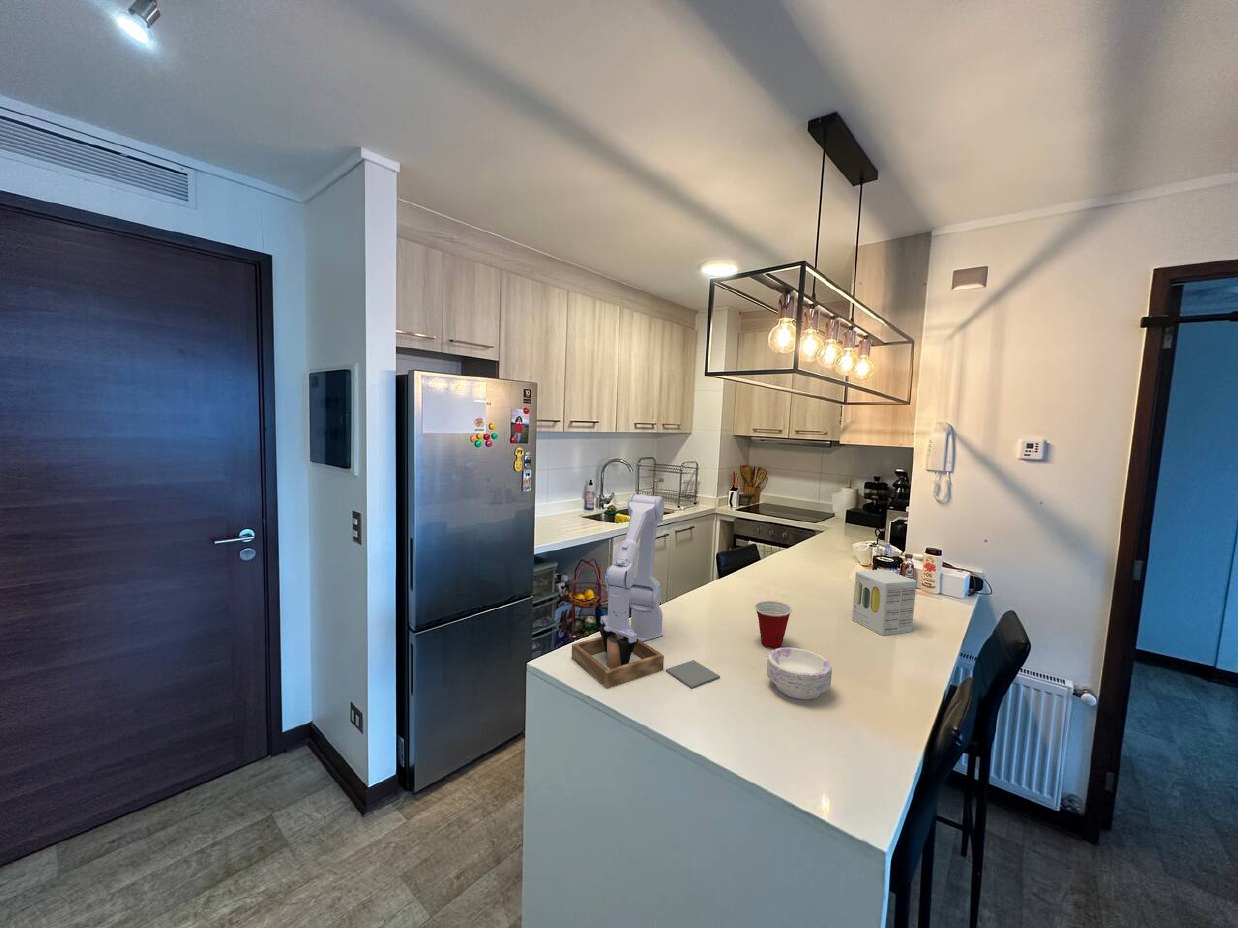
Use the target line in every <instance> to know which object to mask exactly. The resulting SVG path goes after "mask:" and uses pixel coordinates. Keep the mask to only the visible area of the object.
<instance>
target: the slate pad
mask: <svg viewBox="0 0 1238 928" xmlns="http://www.w3.org/2000/svg"><path fill="white" fill-rule="evenodd" d="M665 673H668V674H669V675H670V676H671V677H673V678H675V679H676V680H677V681H679V682H681V684H683V685H685V686H687V688H689V689H691V690H693V689H696V688H698V687H700V686H704V685H706V684H710V683H711V682H713V681H717V680H719V679H721V676H720V674H718V673H716V672H714V671H713V670H711V669H709V668H707V667H706V666H705V665H703V664H702V663H699V662H698V661H697V660H694V659H693V660H690V661H687V662H684V663H681V664H677V665H674V666H672V667H669V668H666V669H665Z"/></svg>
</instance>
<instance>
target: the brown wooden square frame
mask: <svg viewBox="0 0 1238 928" xmlns="http://www.w3.org/2000/svg"><path fill="white" fill-rule="evenodd" d="M616 635H620V634H617V633H616ZM637 639H638V638H637ZM603 652H605V648H604V643H603V639H602V636H599V637H594V638H592V639H591V638H590V639H587V640H586V639H585V640H584V641H579V642H576V643H572V644H571V659H572V660H573V661H574V662H576V663H577V664H578V665H579V666H580V667H581V668H582V669H584V670H585V671H586V672H587V673H588V674H589V675H590V676H591V677H593V678H594V679H595V680H596V679H597V680H598V682H599V684H601V685H602V684H603V685H604V686H605V687H604V686H603V685H602V686H603V687H604V688H605V689H609V687H610V688H612V686H613V687H616V686H619V685H622V684H625V683H628V682H630V680H631V681H634V680H637V679H641V678H643V677H646V676H648V675H651V674H654V673H657V672H661V671H664V664H665V663H664V662H665V661H664V660H665V658H664V657H665V655H664V654H662V653H661V652H660V651H658V650H657V649H656V648H655V649H654V648H653V647H652V646H651V645H649V644H647V643H646V642H645V641H641V640H639V639H638V643H637V644H636V646H635V647H634V649H633V651H632V654H635V655H636V656H637V657H639V658H640V659H639V660H635V661H633V662H629V663H628V664H625V665H622V666H619V667H616V668H613V669H612V668H608V667H606V666H605V665H603V664H602V663H601V662H600V661H599V660H597V659H596V658H595V657H594V656H593V655H596V654H599V653H603ZM597 680H596V681H597ZM618 684H619V685H618ZM615 685H616V686H615Z"/></svg>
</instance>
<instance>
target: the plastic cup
mask: <svg viewBox="0 0 1238 928" xmlns="http://www.w3.org/2000/svg"><path fill="white" fill-rule="evenodd" d="M754 610H755V612H756V614H757V618H758V627H759V634H760V640H761V646H763V647H766V648H768V649H771V650H774V649H778V648H782V646H783V641H784V638H785V634H786V631H787V627H788V622H789V618H790V615H791V613H792V612H793V609H792V607H791V606H790V605H789V604H787V603H785V602H782V601H777V600H762V601H757V602H756V603H755V604H754Z"/></svg>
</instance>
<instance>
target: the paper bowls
mask: <svg viewBox="0 0 1238 928" xmlns="http://www.w3.org/2000/svg"><path fill="white" fill-rule="evenodd" d="M766 659H767V660H766V661H767V662H766V675H767V678H768V679H769V680H770V681H771V682H773V684H775V686H776V688H777V689H778V690H779V691H780V692H781V693H782V694H784V695H786V696H789V697H790V698H795V699H798V700H805V701H806V700H813V699H816V698H817V697H818V696H819V695H820V694H822V693H825V692H827V691H829V690H830V688H831V685H832V676H833V675H832V673H833V666H832V664H831V663H830V661H829V660H828V659H827V658H826V657H825V656H823V655H820V654H819V653H817V652H814V651H811V650H808V649H803V648H799V647H780V648H778V649H771V651H769V652H768V654H767V658H766ZM819 697H820V696H819Z"/></svg>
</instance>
